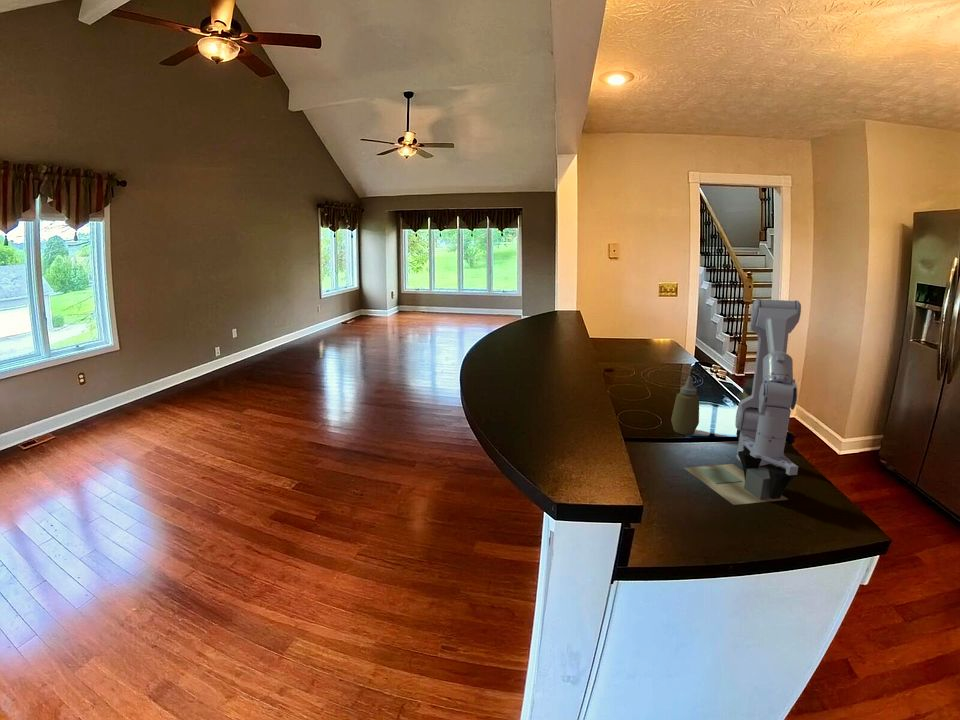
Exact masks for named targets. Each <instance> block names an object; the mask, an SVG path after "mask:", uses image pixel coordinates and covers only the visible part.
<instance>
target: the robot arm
mask: <svg viewBox="0 0 960 720" xmlns="http://www.w3.org/2000/svg"><path fill="white" fill-rule="evenodd" d="M801 313H802V304H801V302H800V301H799V300H797V299H796V300H781V299H780V300H779V299H763V298H762V299H760V298H756V299H754V301H753V302H752V306H751V315H750V323H749V327H750V331H752V332H753V333H755V334H756V335H757V349H756V358H755V366H754V374H753V379H752V380H753V388H752V395H751V396H749V397H747V398H745V399H743V400H742V399H741V400H740V401H739V402H738V404H737V405H738V407H737V409H736V415H735V424H734V425H735V428H736V431H737V430H740V437H739V439H738V443H737V444H738V445H737V451H736V459H737V460H738V461H739V462H740V463H741V465H742V468H743V469H742V470H743V471H744V477H745V478H746V472H747V469H752V468H760V466H761V467H762V466H766V465H773V466H775V467H776V468H768V469H769V470H768V472H769V475H770V498H771V499H779V498H780V497H781V495H783V493H784V492H785V490H786V488H787V486H788V485H789V484H790V483H791V481H793V480H794V479H795V478H796V477H797V476H798V471H799V466H798V465H796V464H795V463H794V462H793V461H792V460H790V458H788V457H787V456H786V455H785V454H784V451H785V446H786V442H787V441H786V439H787V435H788V429H789V423H790V417H791V413H792V411H793V410H794V409H795V407H796V405H797V401H798V385H797V383H796V379H794V374H793V373H794V370H793V369H794V367H793V365H794V364H793V363H794V362H793V358H792V356H791V355H789V354H788V353H787V350H788V340H789V334H791V333H792V331H793V330H795V328H796V326H797V325H798V323H799V322H800V319H801ZM748 407H754V408H759V409H752V408H748ZM791 410H792V411H791Z"/></svg>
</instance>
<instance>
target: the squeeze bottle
mask: <svg viewBox="0 0 960 720" xmlns="http://www.w3.org/2000/svg"><path fill="white" fill-rule="evenodd" d="M697 393H698V388H697V387H694V380H693V376H691V375H689V376H687V379H686V381H685V384H684V385H683V386H681V387H680V391H679V392H678V393H677V394H676V396H675V402H674V404H673V410H672V415H671V418H670V420H671V425H672V429H673V431H674V432H676V434H680V435H686V436H689V435H694V433H695V431H696V430H697V427H698V426H699V424H700V397H699V395H697Z"/></svg>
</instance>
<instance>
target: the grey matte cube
mask: <svg viewBox="0 0 960 720" xmlns="http://www.w3.org/2000/svg"><path fill="white" fill-rule="evenodd" d="M769 469H770V468H767V467H758V468H752V469H747V472H746V478H745V485H744V489H745V490H747V491H748V492H750V493H751V494H753V495H754V496H756V497H757V498H759V499H770V475H769V472H768V470H769Z"/></svg>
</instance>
